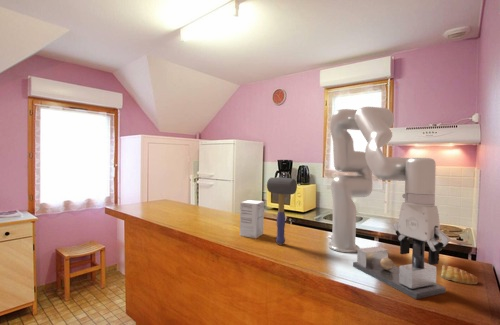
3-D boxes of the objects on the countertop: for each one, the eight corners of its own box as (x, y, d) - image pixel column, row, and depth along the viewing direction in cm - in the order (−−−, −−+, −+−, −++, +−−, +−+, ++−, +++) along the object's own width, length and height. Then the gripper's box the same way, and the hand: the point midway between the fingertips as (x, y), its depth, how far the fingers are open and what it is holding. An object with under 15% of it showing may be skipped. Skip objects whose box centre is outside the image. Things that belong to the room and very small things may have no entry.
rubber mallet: (264, 243, 120) (265, 177, 120) (272, 239, 126) (273, 176, 126) (289, 249, 113) (291, 178, 113) (296, 244, 119) (298, 177, 119)
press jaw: (399, 282, 78) (400, 238, 78) (423, 278, 82) (424, 236, 82) (411, 288, 75) (412, 242, 75) (436, 283, 78) (437, 239, 78)
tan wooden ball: (377, 268, 90) (377, 256, 90) (386, 267, 91) (386, 255, 91) (387, 273, 86) (387, 260, 86) (396, 271, 87) (396, 259, 87)
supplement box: (247, 231, 140) (248, 199, 140) (263, 233, 136) (264, 201, 136) (239, 235, 131) (239, 201, 131) (256, 238, 127) (256, 203, 127)
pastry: (476, 280, 86) (476, 268, 86) (478, 288, 81) (479, 275, 80) (440, 272, 91) (440, 261, 91) (440, 280, 86) (440, 268, 86)
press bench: (352, 266, 95) (353, 248, 95) (378, 262, 99) (378, 245, 99) (415, 299, 72) (416, 275, 72) (445, 292, 77) (445, 270, 77)
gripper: (385, 196, 85) (384, 250, 85) (441, 204, 69) (439, 271, 69) (402, 195, 88) (401, 248, 88) (460, 203, 72) (458, 268, 71)
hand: (418, 258), depth 78 cm, fingers open, 8 cm apart
